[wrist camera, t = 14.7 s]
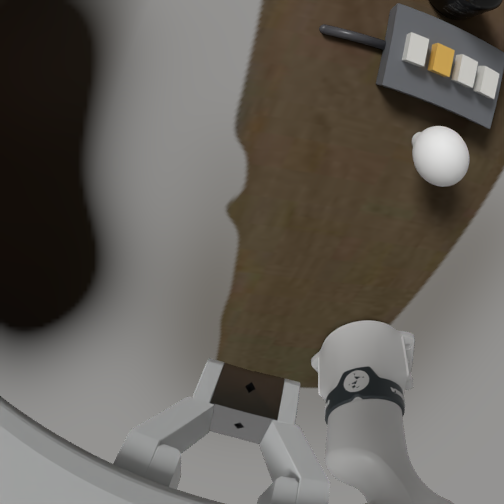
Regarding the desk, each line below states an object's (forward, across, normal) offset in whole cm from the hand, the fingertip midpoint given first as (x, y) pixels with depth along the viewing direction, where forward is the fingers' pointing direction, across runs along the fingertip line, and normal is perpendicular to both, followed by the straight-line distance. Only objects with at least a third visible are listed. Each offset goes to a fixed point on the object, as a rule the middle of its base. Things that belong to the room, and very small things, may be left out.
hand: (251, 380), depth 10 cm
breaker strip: (+32, +9, +16) cm, 37 cm away
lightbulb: (+33, +13, +6) cm, 36 cm away
